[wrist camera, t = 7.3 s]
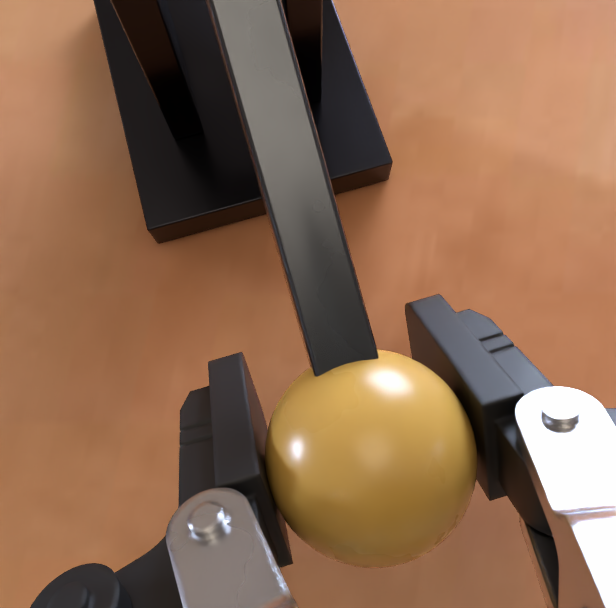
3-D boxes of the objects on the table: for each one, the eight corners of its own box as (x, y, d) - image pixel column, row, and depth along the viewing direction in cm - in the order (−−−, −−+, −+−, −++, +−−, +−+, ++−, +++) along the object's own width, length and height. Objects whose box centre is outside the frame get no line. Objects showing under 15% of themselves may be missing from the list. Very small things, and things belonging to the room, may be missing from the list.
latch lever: (457, 479, 12) (541, 573, 8) (292, 531, 12) (305, 649, 8) (222, -400, 10) (201, -752, 7) (27, -358, 10) (-102, -701, 6)
